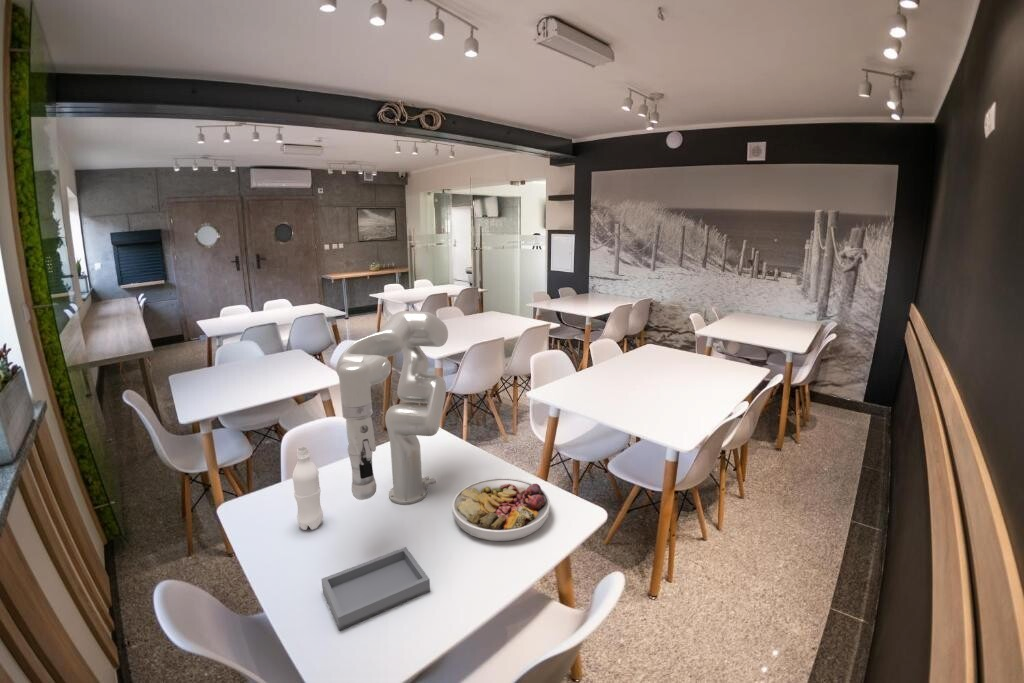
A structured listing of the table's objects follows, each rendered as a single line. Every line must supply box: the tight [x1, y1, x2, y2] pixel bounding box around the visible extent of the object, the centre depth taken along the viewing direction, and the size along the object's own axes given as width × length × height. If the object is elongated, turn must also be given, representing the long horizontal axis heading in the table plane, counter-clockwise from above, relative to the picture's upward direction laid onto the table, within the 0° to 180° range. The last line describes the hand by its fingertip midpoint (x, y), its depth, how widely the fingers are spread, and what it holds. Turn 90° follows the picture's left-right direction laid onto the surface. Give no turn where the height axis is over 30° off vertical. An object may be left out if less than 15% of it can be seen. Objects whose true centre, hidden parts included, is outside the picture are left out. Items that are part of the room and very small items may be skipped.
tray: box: [321, 546, 431, 632], centre depth 123 cm, size 22×15×4 cm
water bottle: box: [292, 446, 324, 531], centre depth 147 cm, size 7×7×25 cm
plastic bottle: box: [347, 441, 377, 501], centre depth 134 cm, size 6×7×20 cm
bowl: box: [451, 477, 551, 542], centre depth 154 cm, size 30×30×8 cm
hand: (362, 471), depth 134 cm, fingers closed on plastic bottle, 6 cm apart
